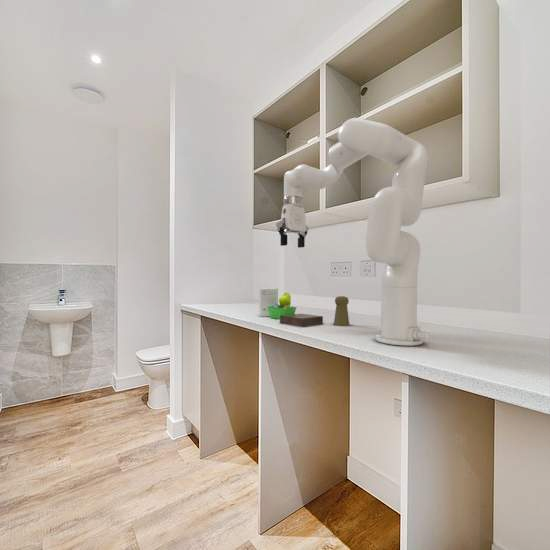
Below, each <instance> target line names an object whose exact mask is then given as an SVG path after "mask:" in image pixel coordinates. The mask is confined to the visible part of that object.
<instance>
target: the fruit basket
mask: <svg viewBox="0 0 550 550" xmlns="http://www.w3.org/2000/svg"><path fill="white" fill-rule="evenodd" d="M291 298H292V296H291V295H290V293H288V292H284V293H283V294H282V296H280V297H279V298H278V304H276V305H274V306H269V307H268V309H269V312H270V316H269V317H270V318H271V319H274V320H275V319H277V320H280V315H291V314H296V310H297V306H291V303H292V299H291Z"/></svg>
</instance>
